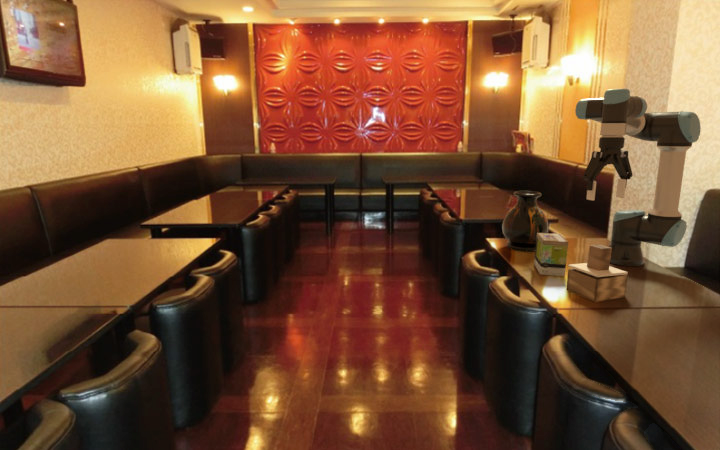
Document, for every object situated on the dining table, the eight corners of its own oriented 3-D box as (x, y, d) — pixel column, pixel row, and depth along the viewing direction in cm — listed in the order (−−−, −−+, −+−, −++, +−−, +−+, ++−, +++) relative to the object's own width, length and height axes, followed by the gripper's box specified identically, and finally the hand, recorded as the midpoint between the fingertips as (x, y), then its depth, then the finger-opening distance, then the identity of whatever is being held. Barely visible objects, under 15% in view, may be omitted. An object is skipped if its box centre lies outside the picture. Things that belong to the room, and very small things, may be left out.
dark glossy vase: (541, 256, 213) (546, 197, 207) (495, 249, 224) (498, 193, 218) (550, 246, 230) (555, 191, 224) (507, 240, 242) (511, 188, 236)
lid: (597, 264, 172) (597, 262, 172) (627, 274, 160) (627, 272, 160) (568, 266, 167) (568, 264, 167) (597, 277, 155) (597, 275, 155)
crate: (595, 285, 174) (597, 265, 172) (625, 296, 162) (627, 275, 160) (566, 289, 169) (568, 269, 167) (595, 302, 157) (597, 280, 155)
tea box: (565, 276, 184) (569, 241, 181) (539, 275, 186) (542, 240, 183) (557, 265, 198) (560, 232, 195) (533, 264, 200) (536, 231, 197)
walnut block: (597, 265, 167) (600, 244, 165) (608, 269, 162) (612, 247, 160) (586, 266, 165) (589, 245, 163) (598, 270, 160) (601, 248, 159)
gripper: (629, 135, 161) (622, 195, 166) (574, 136, 153) (569, 199, 157) (649, 136, 154) (641, 198, 159) (592, 137, 146) (586, 202, 150)
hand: (605, 198), depth 158 cm, fingers open, 13 cm apart
